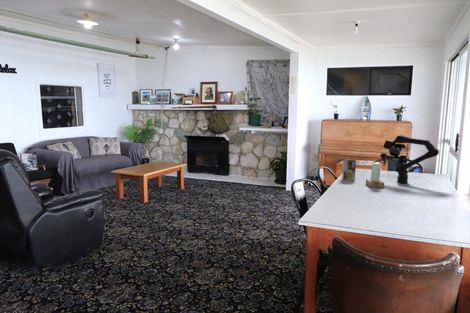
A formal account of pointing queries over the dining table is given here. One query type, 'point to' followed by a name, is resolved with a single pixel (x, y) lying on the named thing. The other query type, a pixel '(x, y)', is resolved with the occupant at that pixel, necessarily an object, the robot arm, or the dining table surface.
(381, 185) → the walnut base block
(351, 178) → the coffee box
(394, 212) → the dining table surface
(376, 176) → the sage block
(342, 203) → the dining table surface
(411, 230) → the dining table surface
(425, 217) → the dining table surface
